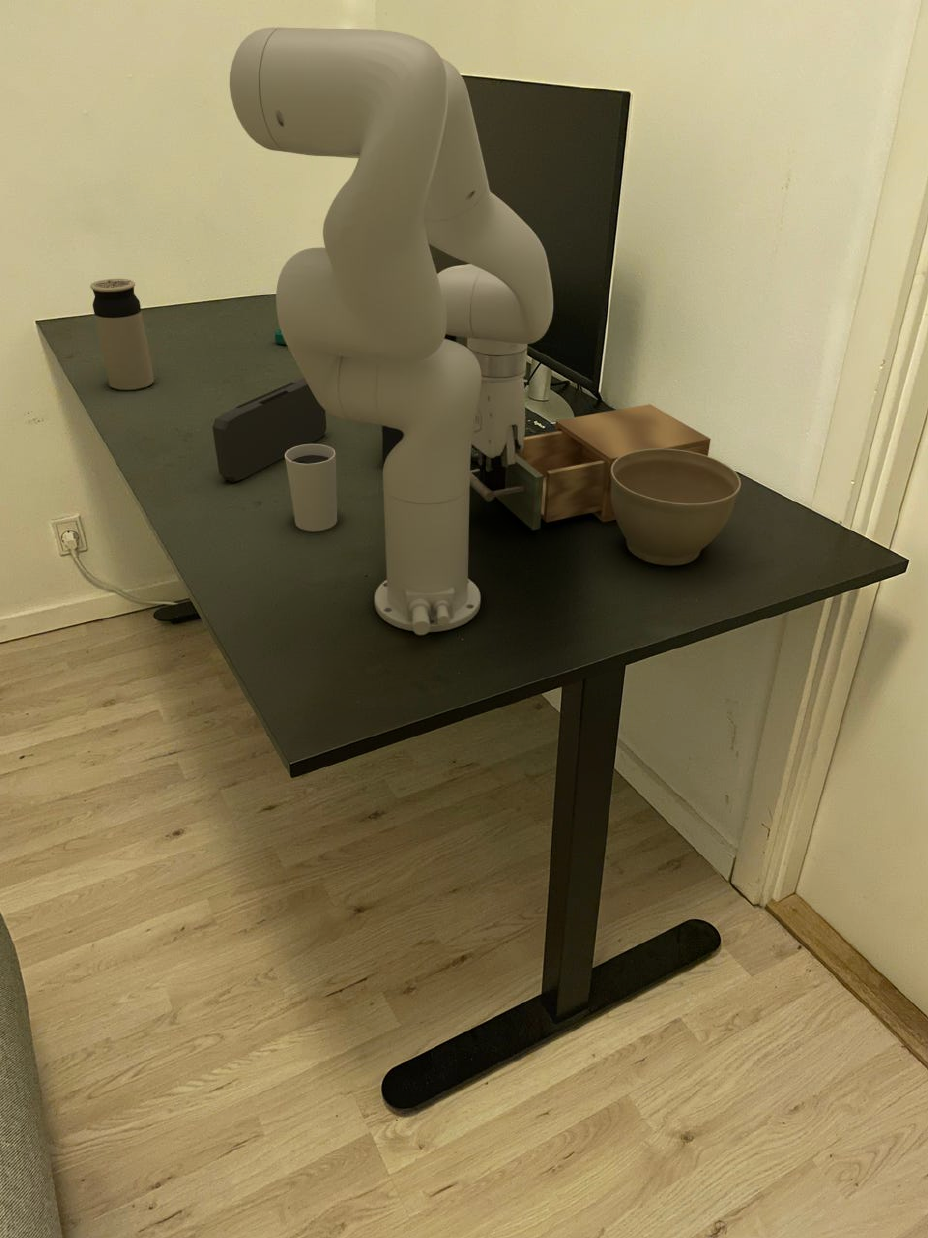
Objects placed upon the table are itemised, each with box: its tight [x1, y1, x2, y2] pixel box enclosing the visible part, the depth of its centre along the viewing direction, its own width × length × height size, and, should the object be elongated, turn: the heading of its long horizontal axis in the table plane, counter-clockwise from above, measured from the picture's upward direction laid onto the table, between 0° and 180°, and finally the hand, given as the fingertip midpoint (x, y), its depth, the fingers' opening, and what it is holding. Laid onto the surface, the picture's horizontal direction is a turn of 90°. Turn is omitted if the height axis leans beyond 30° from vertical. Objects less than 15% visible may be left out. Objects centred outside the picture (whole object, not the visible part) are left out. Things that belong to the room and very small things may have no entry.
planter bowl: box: [611, 449, 742, 566], centre depth 117 cm, size 16×16×11 cm
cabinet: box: [554, 403, 712, 523], centre depth 132 cm, size 17×15×10 cm
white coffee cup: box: [284, 443, 338, 532], centre depth 123 cm, size 7×7×10 cm
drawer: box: [470, 431, 607, 531], centre depth 127 cm, size 21×13×8 cm, turn 116°
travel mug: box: [89, 278, 155, 391], centre depth 164 cm, size 8×8×18 cm
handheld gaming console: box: [212, 377, 328, 483], centre depth 140 cm, size 23×3×10 cm, turn 149°
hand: (491, 493), depth 124 cm, fingers closed
